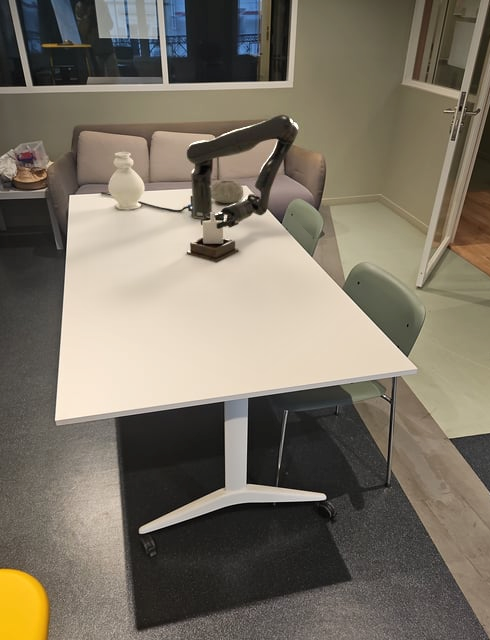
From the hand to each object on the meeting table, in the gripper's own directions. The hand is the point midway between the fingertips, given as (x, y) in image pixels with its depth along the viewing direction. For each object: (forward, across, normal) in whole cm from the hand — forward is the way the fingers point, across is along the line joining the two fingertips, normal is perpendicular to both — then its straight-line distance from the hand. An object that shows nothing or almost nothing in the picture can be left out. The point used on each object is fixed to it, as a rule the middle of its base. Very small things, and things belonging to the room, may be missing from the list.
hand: (209, 224), depth 196 cm
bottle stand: (-2, 0, +12) cm, 12 cm away
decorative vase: (-29, -75, +12) cm, 81 cm away
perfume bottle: (-2, 0, +8) cm, 8 cm away
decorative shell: (-67, -40, +13) cm, 79 cm away
